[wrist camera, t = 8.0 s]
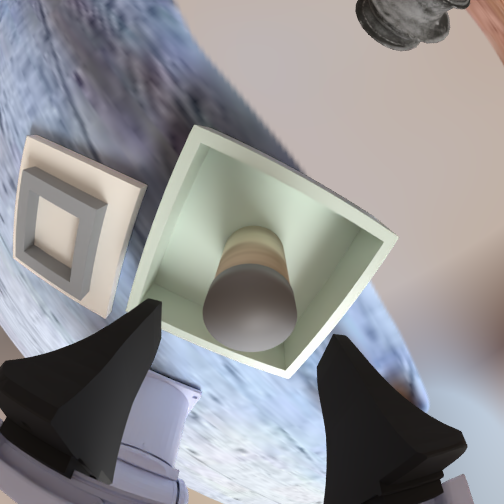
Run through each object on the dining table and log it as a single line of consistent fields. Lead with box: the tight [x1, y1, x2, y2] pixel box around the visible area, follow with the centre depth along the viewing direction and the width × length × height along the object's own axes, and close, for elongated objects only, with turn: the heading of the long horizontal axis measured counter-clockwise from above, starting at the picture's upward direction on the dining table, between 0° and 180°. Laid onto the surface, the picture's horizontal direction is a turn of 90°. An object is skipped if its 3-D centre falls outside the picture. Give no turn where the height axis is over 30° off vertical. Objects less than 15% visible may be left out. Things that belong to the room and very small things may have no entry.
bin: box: [126, 125, 399, 379], centre depth 17 cm, size 12×12×4 cm
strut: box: [203, 226, 297, 352], centre depth 15 cm, size 4×4×7 cm
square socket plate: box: [13, 135, 148, 319], centre depth 18 cm, size 12×12×3 cm
